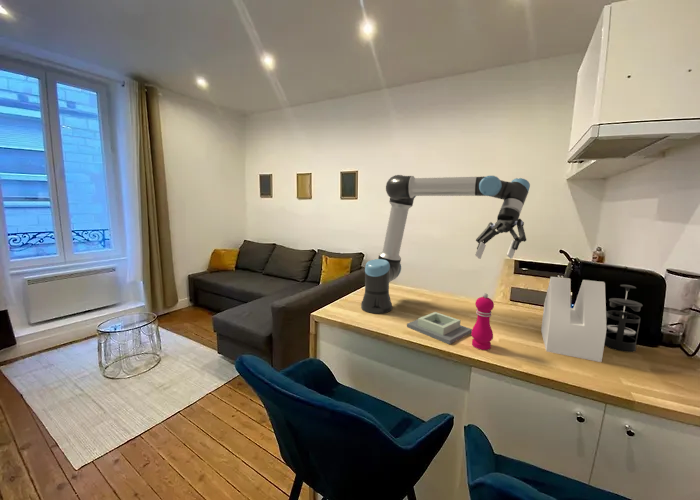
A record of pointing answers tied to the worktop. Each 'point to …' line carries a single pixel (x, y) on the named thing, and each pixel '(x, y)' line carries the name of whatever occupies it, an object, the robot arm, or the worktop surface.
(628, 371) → the worktop surface
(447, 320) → the socket board
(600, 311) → the white notched cradle block
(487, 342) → the pepper mill
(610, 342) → the french press
